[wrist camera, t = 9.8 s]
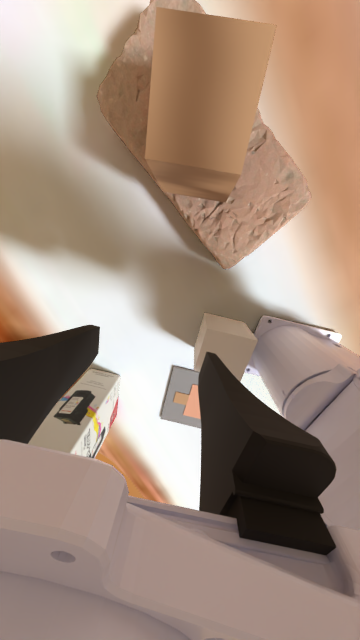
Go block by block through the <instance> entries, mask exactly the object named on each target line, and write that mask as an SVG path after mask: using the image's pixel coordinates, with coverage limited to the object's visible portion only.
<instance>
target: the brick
mask: <svg viewBox="0 0 360 640" xmlns="http://www.w3.org/2000/svg"><path fill="white" fill-rule="evenodd" d="M156 7H161V8H168V9H174V10H181V11H188V12H194V13H201V14H206V13H205V12H204V10H203V9H202V7H201V6H200V4H199V3H197V2H196V1H195V0H150V5H149V6H148V7H147V8H146V9H145V10H144V11H143V12H142V13H141V14H140V17H139V22H138V26H137V29H136V31H135V32H134V34H133V35H132V36H131V37H130V38H129V39H128V40H127V41H126V43H125V45H124V48H123V51H122V54H121V56H120V57H118V58H116V60H115V61H114V63H113V64H112V66H111V67H110V69H109V71H108V74H107V76H106V78H105V79H104V81H103V82H102V83H101V84H100V86H99V90H98V94H97V98H98V101H99V104H100V108H101V112H102V114H103V115H104V117H105V118H106V120H107V121H108V122H109V124H110V126H111V127H112V128H113V130H114V131H115V132H116V134H117V135H118V136H119V137H120V139H121V140H122V141H123V142H124V143H125V145H126V146H127V148H128V149H129V150H130V152H131V153H132V154H133V155H134V156H135V158H136V159H137V160H138V161H139V163H140V164H141V165H142V166H143V167H144V169H145V170H146V171H147V172H148V173H149V175H150V176H151V178H152V179H153V180H154V181H155V183H156V184H157V186H158V187H159V188H160V186H159V184H158V182H157V180H156V178H155V177H154V175H153V173H152V171H151V169H150V167H149V165H148V163H147V161H146V160H145V150H146V137H147V124H148V111H149V98H150V85H151V72H152V59H153V45H154V32H155V19H156ZM160 189H161V188H160ZM164 193H165V194H166V196H167V197H168V198H169V199H170V201H171V202H172V204H173V205H174V206H175V207H176V209H177V211H178V212H179V213H180V215H181V216H182V217H183V219H184V220H185V222H186V223H187V224H188V225H189V226H190V228H191V229H192V230H193V232H194V233H195V234H196V235H197V237H198V238H199V239H200V241H201V242H202V243H203V244H204V245H205V247H206V248H207V249H208V250H209V251H210V252H211V254H212V255H213V256H214V258H215V259H216V261H217V262H218V263H219V265H221V267H222V268H223V269H229V268H231V267H233V266H234V265H235V264H237V263H238V262H239V261H240V260H242V259H243V258H244V257H245V256H247V255H249V254H250V253H252V252H253V251H254V250H255V249H257V248H258V247H259V246H260V245H261V244H262V243H264V242H265V241H266V240H267V239H268V238H270V237H271V236H272V235H273V234H274V233H275V232H277V231H278V230H279V229H280V228H281V227H283V226H284V225H285V224H286V223H287V222H288V221H290V220H291V219H292V218H293V217H294V216H296V215H297V214H298V213H299V212H300V211H301V210H302V209H303V208H304V207H305V206H306V205H307V204H308V203H309V202H310V200H311V193H310V191H309V189H308V185H307V180H306V178H305V177H304V175H303V174H302V173H301V171H300V170H299V168H298V167H297V166H296V164H295V163H294V161H293V159H292V158H291V157H290V156H289V155H288V153H287V152H286V151H285V150H284V148H283V147H282V146H281V144H280V143H279V142H278V141H277V140H276V139H275V137H274V134H273V132H272V131H271V130H270V129H269V127H267V126H266V125H265V124H264V123H263V121H262V119H261V115H260V112H259V110H258V108H257V110H256V114H255V119H254V123H253V127H252V131H251V135H250V139H249V144H248V148H247V152H246V156H245V160H244V164H243V169H242V173H241V176H240V178H239V179H238V181H237V183H236V185H235V187H234V188H233V190H232V192H231V194H230V195H229V197H228V199H227V201H226V203H225V202H219V201H213V200H208V199H202V198H196V197H190V196H185V195H179V194H173V193H167V192H164Z"/></svg>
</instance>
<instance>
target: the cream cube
mask: <svg viewBox="0 0 360 640" xmlns="http://www.w3.org/2000/svg"><path fill="white" fill-rule="evenodd" d="M257 342H258V340H257V338H256V337H255V336H254V334H253V333H252V332H251V330H250V329H249V328H248V326H247V325H246V323H245V322H242V321H238V320H234V319H230V318H225V317H221V316H217V315H213V314H209V313H205V312H204V316H203V319H202V323H201V326H200V330H199V333H198V336H197V340H196V343H195V347H194V371H198V372H200V370H201V367H202V364H203V361H204V358H205V355H206V351H207V352H211V353H215V354H216V355H217V356H218V357H219V358H220V359H221V361H222V362H223V363H224V364H225V366H226V367H227V368H228V369H229V370H230V372H231V373H232V374H233V375H234V376H235V377H236V378H237V379H238V380H239V381H241V379H242V376H243V374H244V372H245V369H246V367H247V365H248V362H249V360H250V358H251V356H252V353H253V351H254V349H255V346H256V344H257Z"/></svg>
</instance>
